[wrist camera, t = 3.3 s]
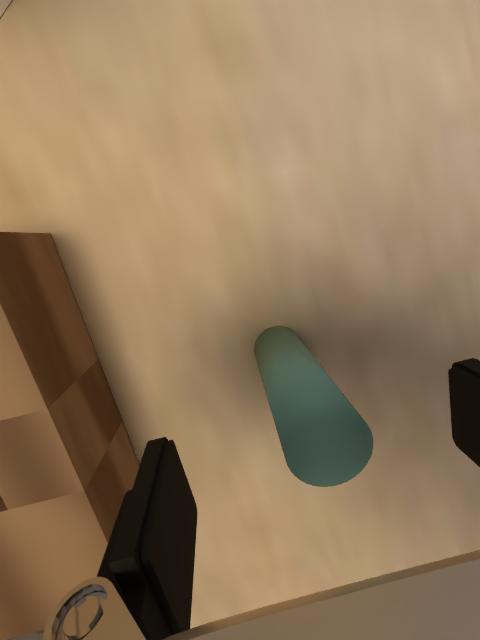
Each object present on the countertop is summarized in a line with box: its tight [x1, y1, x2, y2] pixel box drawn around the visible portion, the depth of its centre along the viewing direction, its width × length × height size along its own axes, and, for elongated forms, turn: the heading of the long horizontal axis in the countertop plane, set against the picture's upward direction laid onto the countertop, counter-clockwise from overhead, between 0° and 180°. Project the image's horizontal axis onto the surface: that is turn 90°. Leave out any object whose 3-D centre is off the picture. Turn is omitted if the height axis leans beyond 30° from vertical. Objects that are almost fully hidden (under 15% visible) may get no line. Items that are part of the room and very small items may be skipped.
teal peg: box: [254, 326, 373, 487], centre depth 16 cm, size 3×3×10 cm
